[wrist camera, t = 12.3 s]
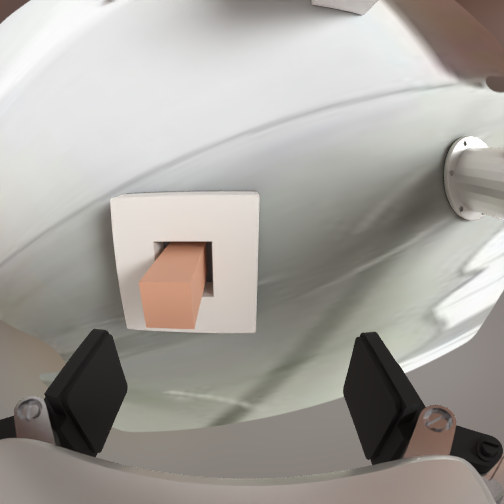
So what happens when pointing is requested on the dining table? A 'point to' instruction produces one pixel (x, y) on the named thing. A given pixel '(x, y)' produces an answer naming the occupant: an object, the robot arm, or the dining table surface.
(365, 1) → the milk carton
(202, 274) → the peg
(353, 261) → the dining table surface
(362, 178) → the dining table surface
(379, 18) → the dining table surface
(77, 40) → the dining table surface
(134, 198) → the socket block
